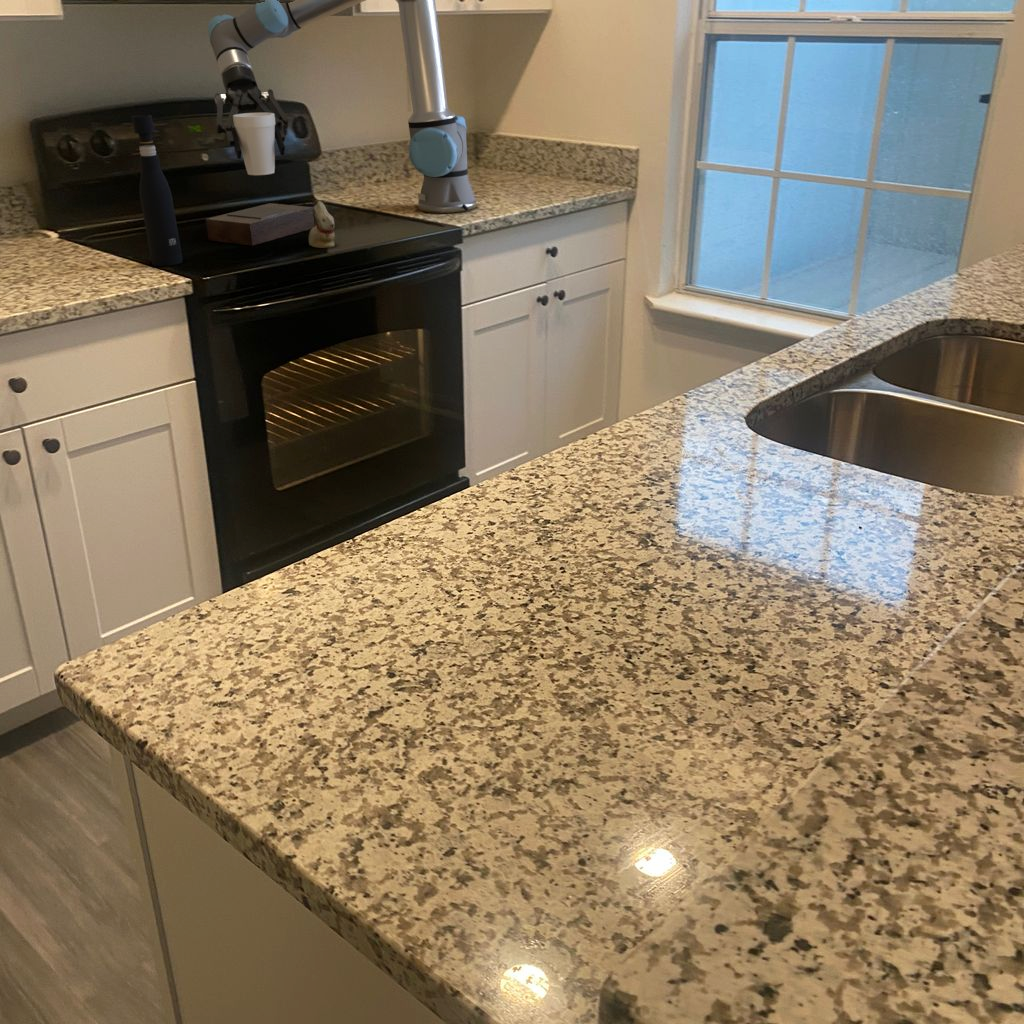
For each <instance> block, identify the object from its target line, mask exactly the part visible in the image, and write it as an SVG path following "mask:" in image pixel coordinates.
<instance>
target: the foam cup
mask: <svg viewBox="0 0 1024 1024" xmlns="http://www.w3.org/2000/svg"><path fill="white" fill-rule="evenodd" d="M233 121H234V125H233V128H235V131H236V134H237V138H238V141H239V144H240V148H241V156H242V159H243V162H244V166H245V171H246V172H247V175H249V176H266V175H273V174H275V172H276V171H275V169H276V138H275V124H276V123H275V114H274V113H273V112H272V113H257V112H244V113H238V114H236V115H233Z"/></svg>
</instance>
